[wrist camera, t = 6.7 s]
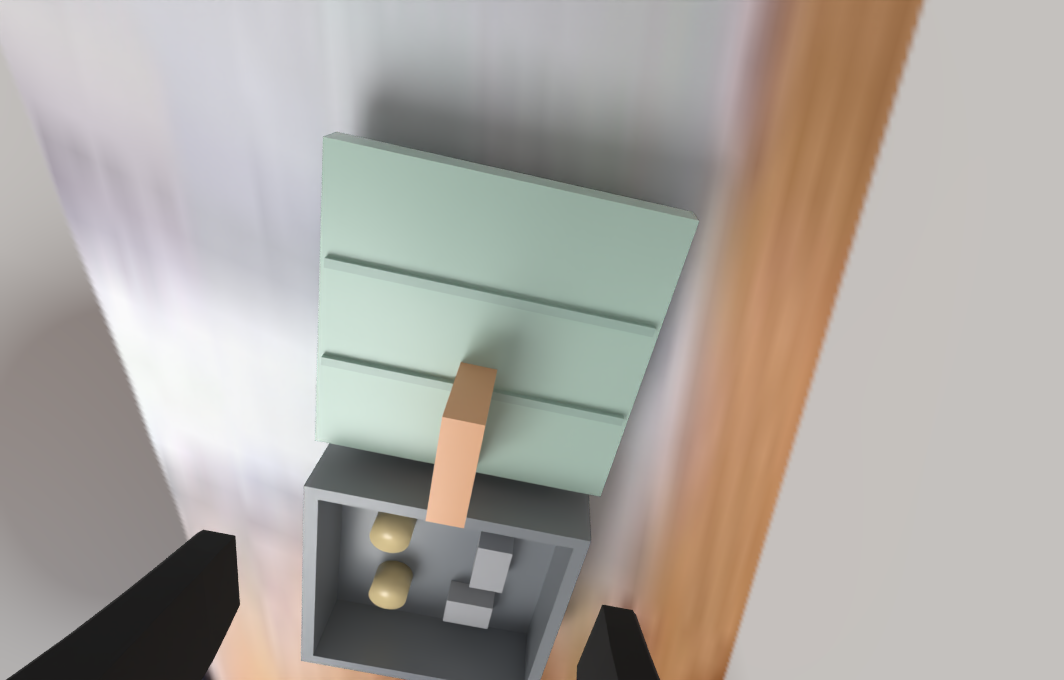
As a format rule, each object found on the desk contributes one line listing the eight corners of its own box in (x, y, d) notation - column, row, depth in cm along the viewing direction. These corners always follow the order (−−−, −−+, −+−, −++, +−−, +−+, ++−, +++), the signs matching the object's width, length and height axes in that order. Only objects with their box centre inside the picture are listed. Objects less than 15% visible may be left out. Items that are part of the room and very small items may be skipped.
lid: (597, 463, 21) (606, 564, 17) (334, 411, 21) (275, 502, 17) (686, 204, 17) (728, 256, 12) (347, 128, 16) (269, 155, 12)
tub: (535, 632, 26) (532, 701, 24) (329, 594, 26) (301, 660, 23) (587, 478, 22) (591, 541, 19) (338, 428, 21) (303, 486, 18)
